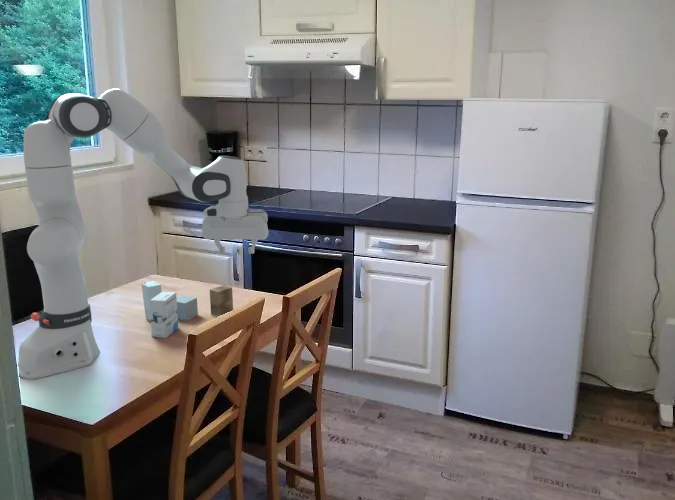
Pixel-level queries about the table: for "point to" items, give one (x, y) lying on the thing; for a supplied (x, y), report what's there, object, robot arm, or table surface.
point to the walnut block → (221, 300)
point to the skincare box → (149, 295)
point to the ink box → (164, 314)
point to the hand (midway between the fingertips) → (236, 253)
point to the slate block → (186, 307)
